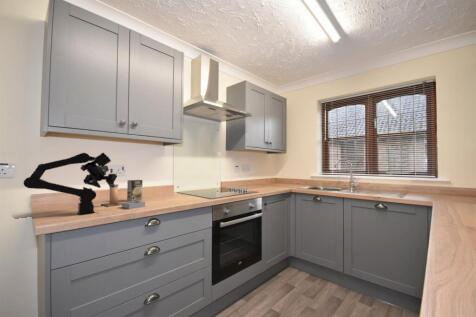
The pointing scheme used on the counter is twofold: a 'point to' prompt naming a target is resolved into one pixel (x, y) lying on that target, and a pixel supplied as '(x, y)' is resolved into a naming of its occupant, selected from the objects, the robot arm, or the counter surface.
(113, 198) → the jar
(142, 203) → the holder
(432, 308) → the counter surface
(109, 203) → the trivet
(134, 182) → the coffee box
